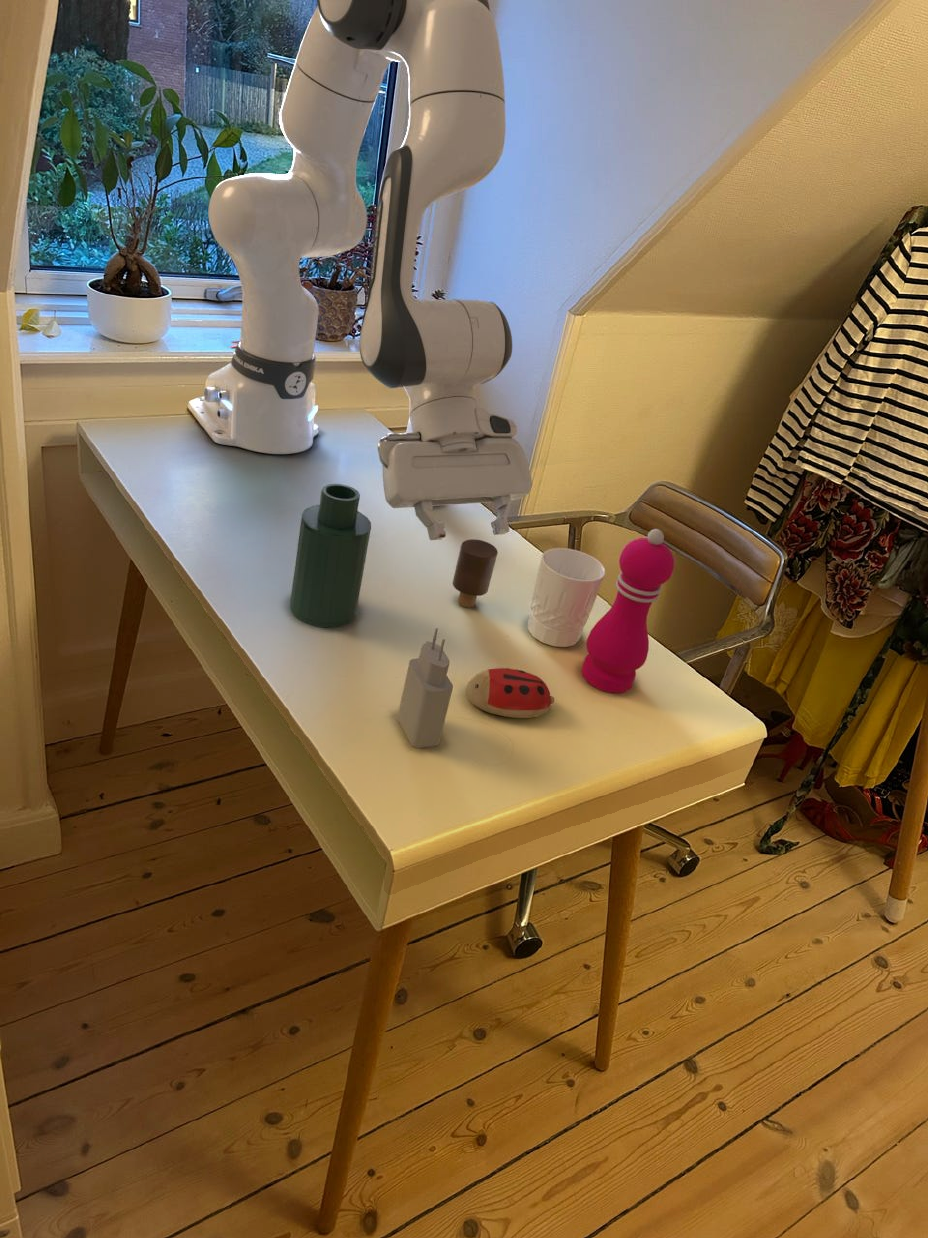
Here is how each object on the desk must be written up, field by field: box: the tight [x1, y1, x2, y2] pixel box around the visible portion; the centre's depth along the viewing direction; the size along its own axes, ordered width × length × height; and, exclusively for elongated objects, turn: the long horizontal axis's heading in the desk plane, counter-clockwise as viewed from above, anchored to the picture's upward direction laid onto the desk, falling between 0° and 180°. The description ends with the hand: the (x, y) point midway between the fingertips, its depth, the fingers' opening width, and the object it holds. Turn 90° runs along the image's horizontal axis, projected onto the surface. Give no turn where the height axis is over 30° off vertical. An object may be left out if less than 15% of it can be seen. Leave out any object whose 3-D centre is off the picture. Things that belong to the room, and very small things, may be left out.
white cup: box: [527, 547, 606, 648], centre depth 119 cm, size 8×8×10 cm
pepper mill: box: [581, 528, 675, 694], centre depth 110 cm, size 7×7×20 cm
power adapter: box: [397, 627, 454, 749], centre depth 97 cm, size 3×5×12 cm, turn 23°
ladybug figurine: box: [464, 667, 555, 719], centre depth 106 cm, size 7×10×4 cm
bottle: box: [289, 483, 372, 629], centre depth 111 cm, size 8×8×16 cm
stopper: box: [452, 538, 499, 609], centre depth 121 cm, size 5×5×8 cm
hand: (470, 536), depth 122 cm, fingers open, 8 cm apart
